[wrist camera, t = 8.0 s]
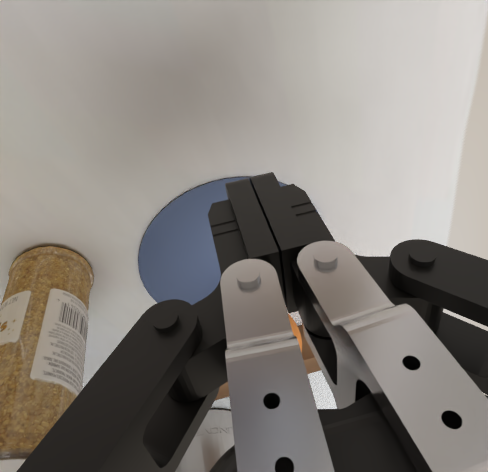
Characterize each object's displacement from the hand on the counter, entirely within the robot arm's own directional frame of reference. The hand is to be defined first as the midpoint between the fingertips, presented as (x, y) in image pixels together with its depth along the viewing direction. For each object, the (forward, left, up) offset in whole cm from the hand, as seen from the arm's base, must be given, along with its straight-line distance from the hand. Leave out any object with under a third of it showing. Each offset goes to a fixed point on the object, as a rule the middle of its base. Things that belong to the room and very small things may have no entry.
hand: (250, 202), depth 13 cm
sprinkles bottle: (-12, +6, -9) cm, 16 cm away
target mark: (-10, -4, -9) cm, 14 cm away
